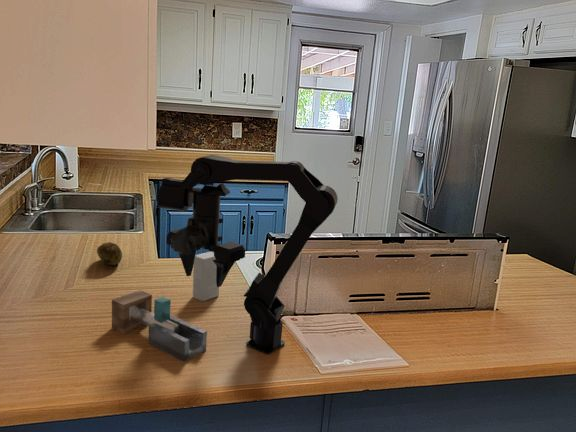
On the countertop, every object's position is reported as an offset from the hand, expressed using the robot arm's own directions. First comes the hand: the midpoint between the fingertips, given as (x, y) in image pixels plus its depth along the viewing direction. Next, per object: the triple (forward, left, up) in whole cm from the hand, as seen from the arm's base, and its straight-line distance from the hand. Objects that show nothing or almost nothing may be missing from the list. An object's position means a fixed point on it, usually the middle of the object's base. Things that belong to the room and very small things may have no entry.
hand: (203, 281), depth 109 cm
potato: (+51, -13, -13) cm, 54 cm away
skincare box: (+14, -16, -13) cm, 25 cm away
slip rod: (+8, +8, -11) cm, 16 cm away
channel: (0, +8, -13) cm, 15 cm away
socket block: (+15, +8, -13) cm, 21 cm away
